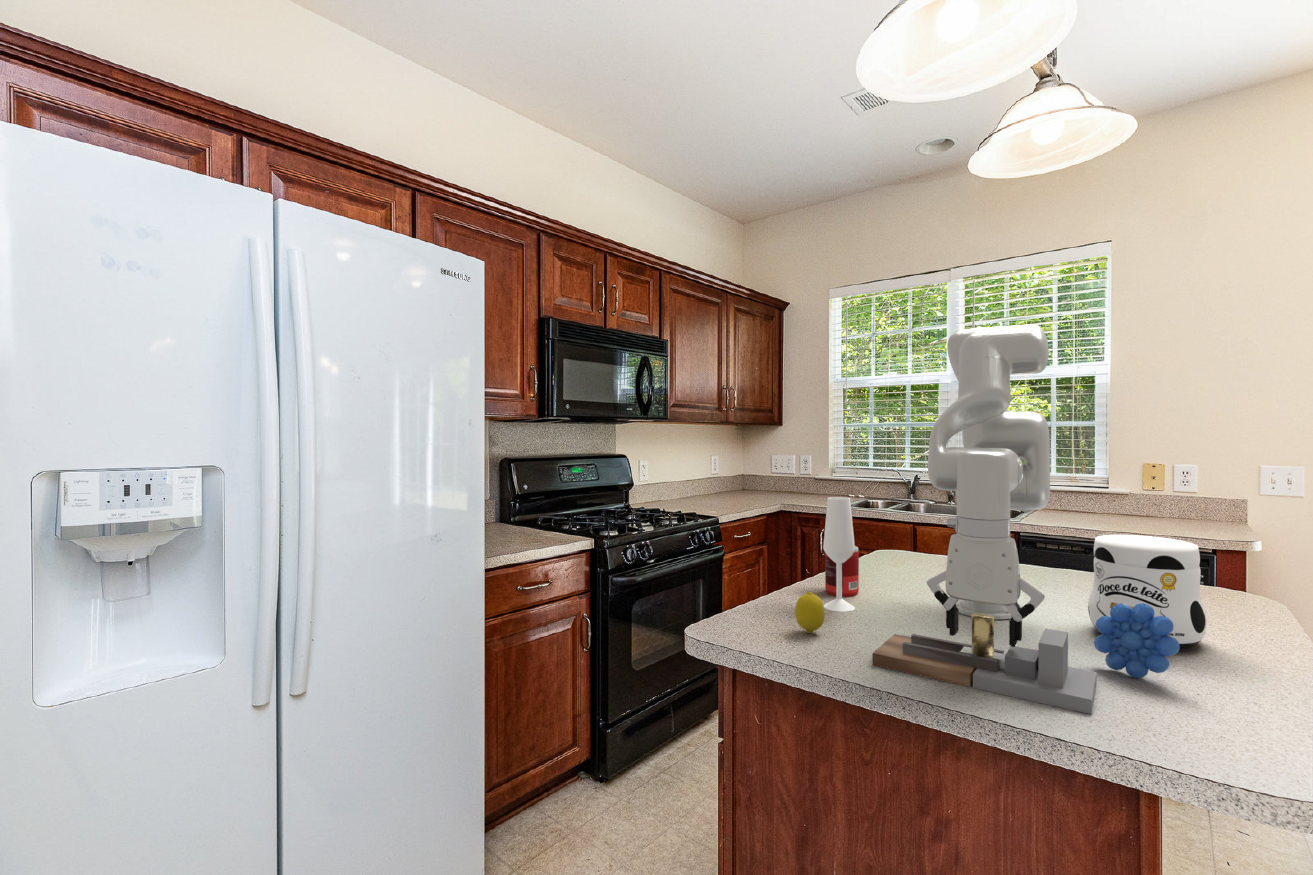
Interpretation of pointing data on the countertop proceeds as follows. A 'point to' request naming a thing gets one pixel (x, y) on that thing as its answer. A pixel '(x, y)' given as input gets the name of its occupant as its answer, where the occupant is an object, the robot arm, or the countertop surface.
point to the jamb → (1042, 675)
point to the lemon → (810, 612)
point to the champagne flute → (839, 544)
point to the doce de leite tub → (1150, 581)
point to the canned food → (843, 575)
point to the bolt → (984, 639)
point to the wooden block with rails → (931, 658)
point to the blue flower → (1136, 640)
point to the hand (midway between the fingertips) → (982, 638)
